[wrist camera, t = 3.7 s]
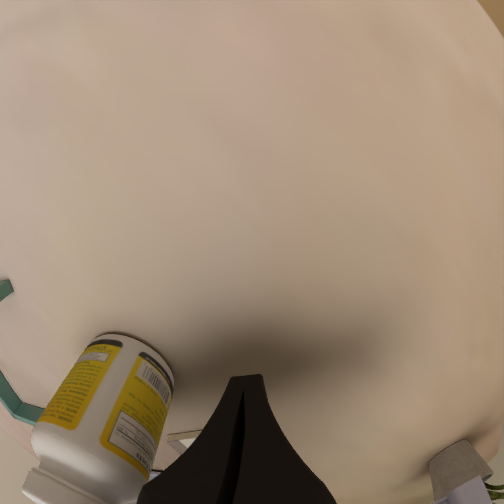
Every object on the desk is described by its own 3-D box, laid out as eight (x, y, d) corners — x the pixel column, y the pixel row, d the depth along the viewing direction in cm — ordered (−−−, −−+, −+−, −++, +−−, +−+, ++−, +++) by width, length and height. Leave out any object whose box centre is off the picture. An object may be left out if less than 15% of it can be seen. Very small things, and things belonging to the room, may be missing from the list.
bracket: (91, 424, 16) (83, 440, 15) (21, 406, 17) (13, 418, 15) (8, 279, 12) (-10, 292, 10) (-44, 289, 13) (-57, 299, 11)
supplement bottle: (86, 374, 14) (19, 493, 5) (95, 313, 13) (-13, 460, 3) (163, 412, 15) (125, 547, 6) (189, 359, 13) (142, 544, 4)
